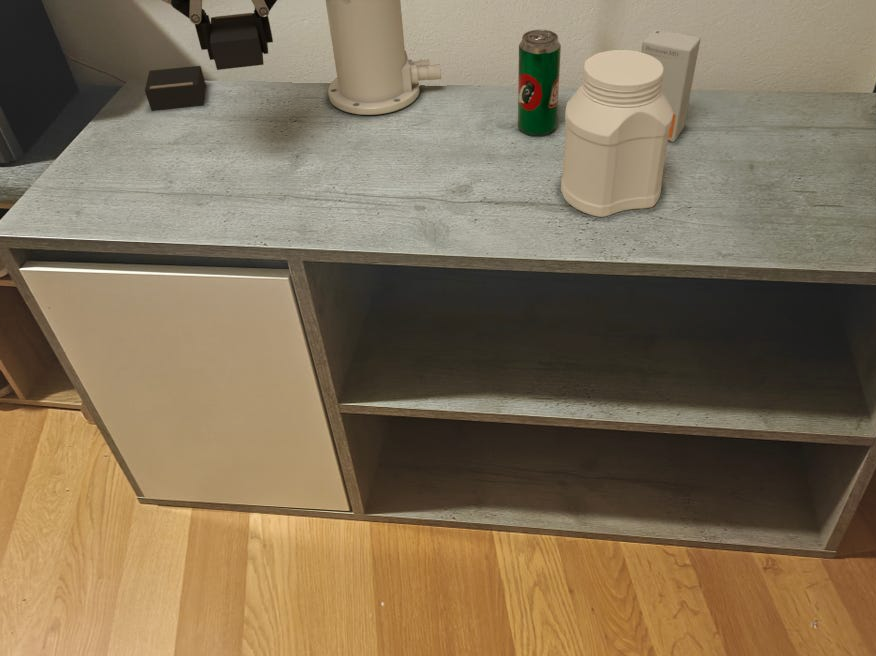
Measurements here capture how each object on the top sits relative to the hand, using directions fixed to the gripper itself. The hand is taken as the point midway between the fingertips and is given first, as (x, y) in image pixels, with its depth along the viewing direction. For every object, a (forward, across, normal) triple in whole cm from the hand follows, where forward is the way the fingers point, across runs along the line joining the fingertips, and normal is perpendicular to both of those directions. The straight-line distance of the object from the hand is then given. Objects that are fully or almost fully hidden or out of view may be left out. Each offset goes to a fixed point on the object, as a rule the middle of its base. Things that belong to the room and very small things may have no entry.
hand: (238, 50), depth 90 cm
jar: (+15, +39, -16) cm, 45 cm away
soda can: (+15, +35, 0) cm, 38 cm away
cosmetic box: (+15, +50, -5) cm, 52 cm away
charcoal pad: (+14, -11, +21) cm, 28 cm away
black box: (0, 0, 0) cm, 0 cm away
